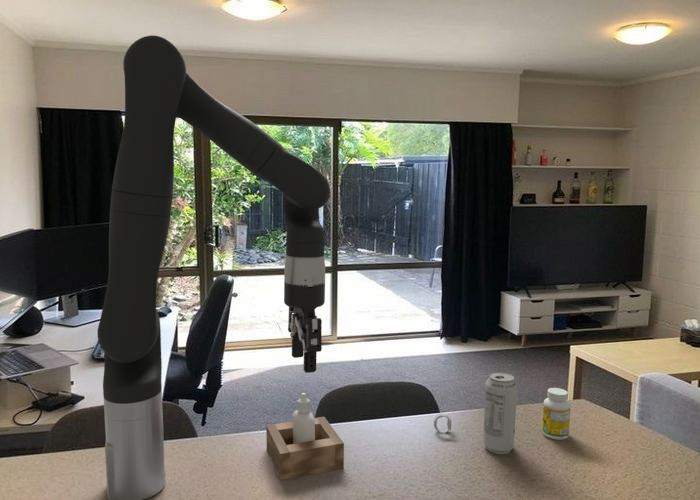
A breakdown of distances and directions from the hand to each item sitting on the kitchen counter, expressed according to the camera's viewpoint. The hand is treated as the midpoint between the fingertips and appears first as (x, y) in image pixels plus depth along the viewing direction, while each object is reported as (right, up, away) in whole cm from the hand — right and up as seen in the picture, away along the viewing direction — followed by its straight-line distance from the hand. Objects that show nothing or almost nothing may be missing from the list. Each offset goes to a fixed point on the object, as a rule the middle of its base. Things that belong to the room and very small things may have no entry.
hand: (303, 364), depth 105 cm
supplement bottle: (+52, -18, +13) cm, 57 cm away
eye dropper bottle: (0, -18, +2) cm, 18 cm away
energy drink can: (+39, -19, +7) cm, 43 cm away
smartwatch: (+29, -18, +14) cm, 37 cm away
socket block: (0, -19, +3) cm, 19 cm away
